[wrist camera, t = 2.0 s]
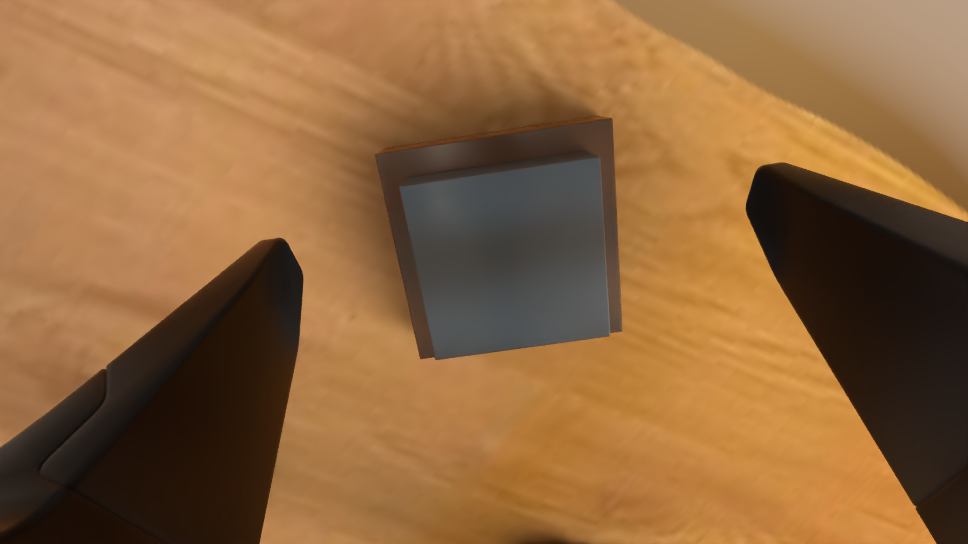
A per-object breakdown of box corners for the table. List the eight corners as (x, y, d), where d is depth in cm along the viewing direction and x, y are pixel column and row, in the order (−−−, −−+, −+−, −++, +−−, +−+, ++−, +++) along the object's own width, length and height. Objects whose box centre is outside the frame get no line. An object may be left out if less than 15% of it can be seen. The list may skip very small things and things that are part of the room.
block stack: (609, 311, 28) (637, 355, 23) (424, 337, 28) (414, 386, 23) (598, 115, 24) (629, 120, 19) (384, 148, 24) (362, 160, 19)
